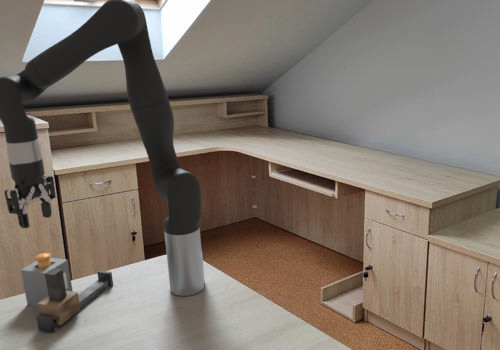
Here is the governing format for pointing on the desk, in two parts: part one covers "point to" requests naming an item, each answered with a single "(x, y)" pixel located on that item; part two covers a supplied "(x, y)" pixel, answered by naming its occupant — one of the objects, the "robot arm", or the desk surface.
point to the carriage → (58, 298)
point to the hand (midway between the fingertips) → (36, 222)
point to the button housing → (42, 280)
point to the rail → (86, 296)
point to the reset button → (43, 260)
